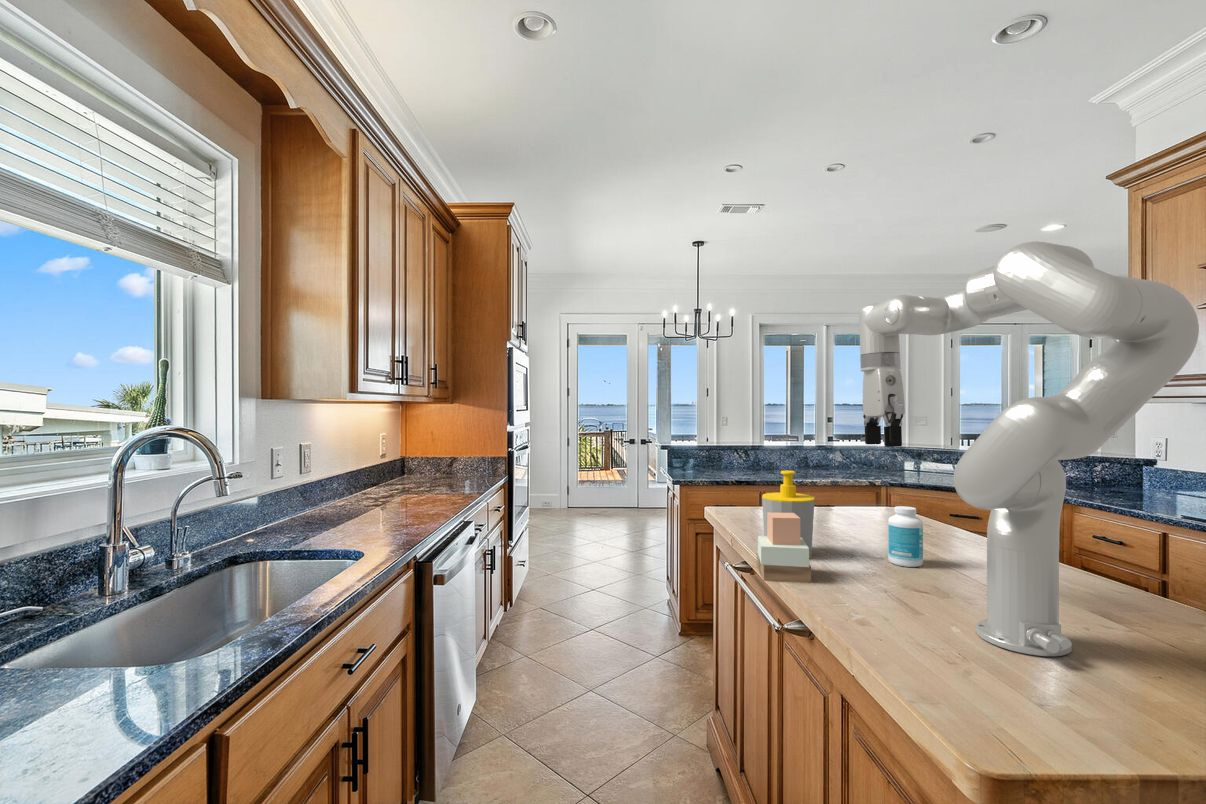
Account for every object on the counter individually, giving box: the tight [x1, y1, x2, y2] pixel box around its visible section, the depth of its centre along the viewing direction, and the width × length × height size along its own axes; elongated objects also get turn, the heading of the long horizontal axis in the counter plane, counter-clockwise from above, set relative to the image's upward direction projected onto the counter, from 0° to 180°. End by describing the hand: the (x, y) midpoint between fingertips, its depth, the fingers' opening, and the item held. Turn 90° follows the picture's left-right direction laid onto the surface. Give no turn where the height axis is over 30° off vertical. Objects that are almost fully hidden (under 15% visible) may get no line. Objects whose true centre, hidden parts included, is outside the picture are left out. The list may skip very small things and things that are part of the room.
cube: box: [767, 512, 800, 545], centre depth 129 cm, size 6×6×6 cm
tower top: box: [757, 535, 810, 567], centre depth 128 cm, size 10×10×4 cm
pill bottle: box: [887, 505, 924, 568], centre depth 137 cm, size 8×7×14 cm
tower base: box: [756, 552, 812, 583], centre depth 129 cm, size 10×10×4 cm
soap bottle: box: [761, 469, 816, 558], centre depth 146 cm, size 13×13×21 cm
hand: (882, 445), depth 118 cm, fingers open, 9 cm apart
